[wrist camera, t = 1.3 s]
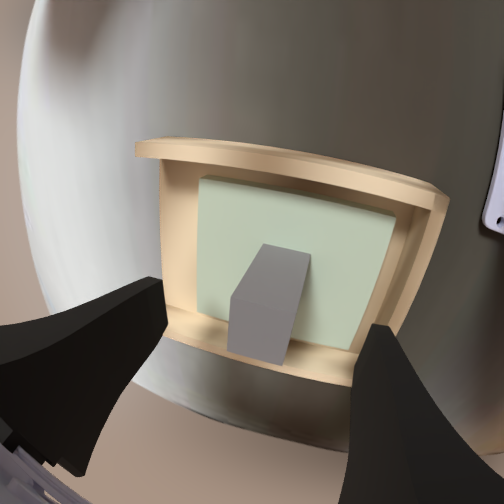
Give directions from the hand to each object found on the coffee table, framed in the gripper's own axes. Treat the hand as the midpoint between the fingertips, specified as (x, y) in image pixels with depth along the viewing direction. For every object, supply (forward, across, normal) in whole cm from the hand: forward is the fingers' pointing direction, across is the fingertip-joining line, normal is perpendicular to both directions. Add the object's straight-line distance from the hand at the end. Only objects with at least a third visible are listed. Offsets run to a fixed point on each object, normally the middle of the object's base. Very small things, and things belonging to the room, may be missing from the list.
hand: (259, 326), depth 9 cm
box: (+5, 0, 0) cm, 5 cm away
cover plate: (+4, 0, 0) cm, 4 cm away
